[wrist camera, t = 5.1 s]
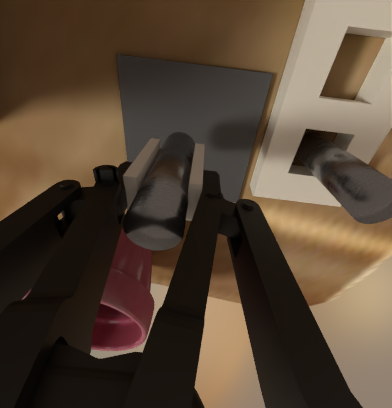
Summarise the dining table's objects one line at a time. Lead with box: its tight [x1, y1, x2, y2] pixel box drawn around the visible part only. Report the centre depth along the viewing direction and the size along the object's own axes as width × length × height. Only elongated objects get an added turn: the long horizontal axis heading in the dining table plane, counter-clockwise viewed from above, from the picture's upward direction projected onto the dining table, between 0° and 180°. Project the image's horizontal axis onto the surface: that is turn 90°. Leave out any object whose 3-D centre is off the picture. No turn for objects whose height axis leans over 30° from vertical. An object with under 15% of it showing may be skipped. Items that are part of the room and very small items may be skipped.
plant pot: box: [22, 227, 154, 351], centre depth 27 cm, size 14×14×13 cm
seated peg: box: [295, 132, 392, 224], centre depth 17 cm, size 3×3×11 cm
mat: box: [116, 54, 273, 202], centre depth 22 cm, size 14×14×1 cm
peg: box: [123, 132, 195, 251], centre depth 14 cm, size 3×3×11 cm
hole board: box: [250, 0, 392, 207], centre depth 18 cm, size 10×18×2 cm, turn 174°
